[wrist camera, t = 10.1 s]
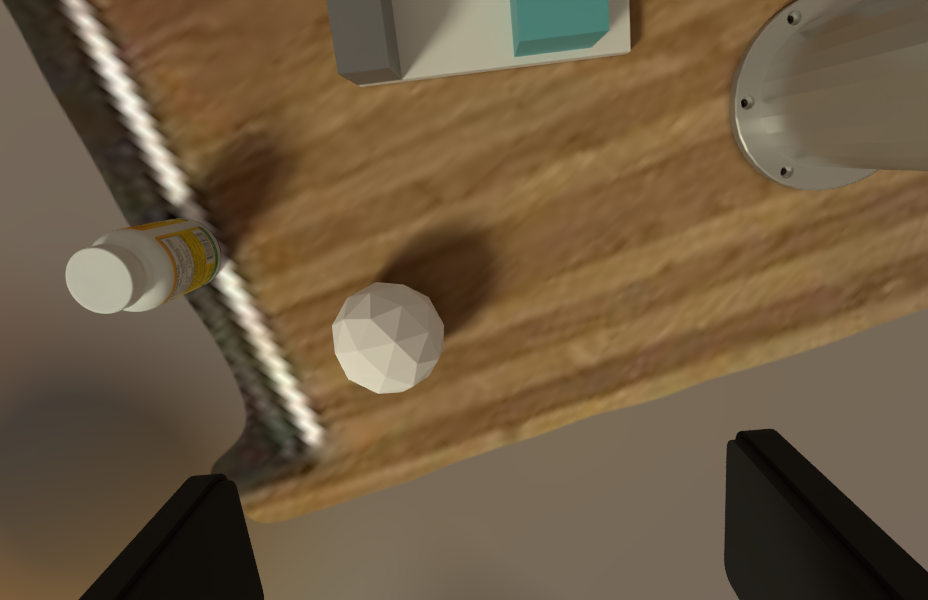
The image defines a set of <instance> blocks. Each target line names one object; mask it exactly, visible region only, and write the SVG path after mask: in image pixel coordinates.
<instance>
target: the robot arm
mask: <svg viewBox="0 0 928 600" xmlns="http://www.w3.org/2000/svg"><path fill="white" fill-rule="evenodd" d="M787 17H788V18H789V19H790V23H788V21H787ZM742 100H743V101H744V103H745V104H744V106H743V107H742V106H741V101H742ZM729 113H730V121H731V128H732V131H733V134H734V137H735V140H736V143H737V145H738V147H739V149H740V151H741V152H742V154H743V156H744V157H745V159H746V160H747V161H748V162H749V163H750V164H751V166H752V167H753V168H754V169H755V170H756V171H757V172H759V173H760V174H762V175H763V176H765V177H766V178H767V179H769V180H771V181H773V182H775V183H778V184H780V185H783V186H785V187H790V188H796V189H801V190H816V191H819V190H828V189H836V188H840V187H843V186H847V185H850V184H853V183H856V182H858V181H860V180H862V179H864V178H866V177H868V176H870V175H872V174H873V173H875V172H876V171H877V170H879V169H883V170H911V171H928V0H797V1H796V2H794V3H792V4H790V5H788V6H786V7H785V8H783V9H782V10H781V11H780V12H778V13H777V14H776V15H775V16H773V17H772V18H771V19H770V20H768V21H767V23H766V24H765V25H764V26H763V27H762V28H761V29H760V30H759V31H758V33H757V34H756V35H755V36H754V37H753V39H752V40H751V42H750V44H749V45H748V47H747V48H746V50H745V51H744V53H743V55H742V57H741V59H740V62H739V64H738V66H737V69H736V71H735V74H734V78H733V82H732V87H731V91H730V105H729ZM781 169H783V173H782V174H781V173H780V172H781ZM726 460H727V461H726V506H725V551H724V562H725V563H724V564H725V570H726V574H727V577H728V580H729V582H730V584H731V586H732V587H733V589H734V591H735V593H736V595H737V596H738V598H739V600H928V572H927V571H926V570H925V569H924V568H923V567H922V566H921V565H920V564H919V563H917V562H916V561H915V560H914V559H913V558H912V557H911V556H910V555H909V554H908V553H907V552H906V551H905V550H903V549H902V548H901V547H900V546H899V545H898V544H897V543H896V542H895V541H894V540H892V538H891V537H889V536H888V535H887V534H886V533H885V532H884V531H883V530H882V529H881V528H880V527H879V526H878V525H877V524H875V522H873V521H872V520H871V519H870V518H869V517H868V516H867V515H866V514H865V513H864V512H863V511H862V510H860V509H859V508H858V507H857V506H856V505H855V504H854V503H853V502H852V501H851V500H850V499H849V498H848V497H847V496H845V495H844V494H843V493H842V492H841V491H840V490H839V489H838V488H837V487H836V486H835V485H833V483H832V482H831V481H829V480H828V479H827V478H826V477H825V476H824V475H823V474H822V473H821V472H820V471H819V470H818V469H817V468H816V467H814V466H813V465H812V464H811V463H810V462H809V461H808V460H807V459H806V458H805V457H804V456H803V455H802V454H800V453H799V452H798V451H797V450H796V449H795V448H794V447H793V446H792V445H791V444H790V443H788V441H787V440H785V439H784V438H783V437H782V436H781V435H780V434H779V433H778V432H777V431H775V430H774V429H762V430H749V431H740V432H738V433H737V435H736V439H735V440H730V441H728V444H727V458H726ZM79 600H264V594H263V589H262V585H261V581H260V577H259V573H258V569H257V565H256V561H255V558H254V553H253V549H252V546H251V542H250V538H249V534H248V530H247V526H246V523H245V518H244V514H243V510H242V506H241V502H240V498H239V494H238V490H237V487H236V484H235V483H234V482H233V481H231V480H230V481H228V479H227V478H226V476H225V475H223V474H210V475H198V476H191V477H190V478H188V479H187V480H186V481H185V482H184V483H183V485H182V486H181V487H180V488H179V489H178V490H177V491H176V493H174V495H173V496H172V497H171V498H170V499H169V500H168V501H167V502H166V503H165V505H164V506H163V507H162V508H161V509H160V510H159V511H158V512H157V513H156V515H155V516H154V517H153V518H152V519H151V520H150V521H149V522H148V523H147V524H146V526H145V527H144V528H143V529H142V530H141V531H140V532H139V533H138V534H137V536H136V537H135V538H134V539H133V540H132V541H131V542H130V543H129V545H128V546H127V547H126V548H125V549H124V550H123V551H122V552H121V553H120V555H119V556H118V557H117V558H116V559H115V560H114V561H113V562H112V563H111V564H110V565H109V567H108V568H107V569H106V570H105V571H104V572H103V573H102V574H101V576H100V577H99V578H98V579H97V580H96V581H95V582H94V583H93V584H92V585H91V587H90V588H89V589H88V590H87V591H86V592H85V593H84V594H83V595H82V596H81V598H80V599H79Z"/></svg>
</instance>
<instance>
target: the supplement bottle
mask: <svg viewBox="0 0 928 600" xmlns="http://www.w3.org/2000/svg"><path fill="white" fill-rule="evenodd" d="M220 263H221V253H220V248H219V245H218V242H217V240H216V239H215V237H214V236H213V234H212V233H211V232H210V231H209V230H208V229H207V228H206V227H205V226H203V225H202V224H200V223H198V222H196V221H193V220H190V219H185V218H177V219H170V220H165V221H160V222H155V223H149V224H144V225H138V226H133V227H127V228H122V229H118V230H114V231H111V232H108V233H106V234H104V235H103V236H101V237H100V238H99V239H98V240H96V242H95V243H94V244H93V245H92V247H88V248H84V249H82V250H80V251H78V252H76V253H75V254H74V255H73V256H72V257H71V259H70V260H69V262H68V264H67V267H66V282H67V286H68V289H69V291H70V292H71V294H72V296H73V297H74V298H75V300H76V301H77V302H78V303H80V304H81V305H82V306H83V307H85V308H87V309H89V310H91V311H93V312H97V313H103V314H108V313H115V312H118V311H121V310H125V311H132V312H140V311H146V310H150V309H153V308H155V307H157V306H160V305H162V304H164V303H166V302H168V301H170V300H173V299H175V298H177V297H179V296H181V295H184V294H186V293H188V292H190V291H192V290H194V289H197V288H199V287H201V286H203V285H205V284H207V283H208V282H210V281H211V280H212V279H213V278H214V277H215V275H216V274H217V272H218V270H219V267H220Z"/></svg>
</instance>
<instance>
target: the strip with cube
mask: <svg viewBox="0 0 928 600" xmlns="http://www.w3.org/2000/svg"><path fill="white" fill-rule="evenodd" d="M326 1H327V7H328V13H329V20H330V26H331V32H332V38H333V45H334V51H335V57H336V63H337V70H338V74H339V75H341V76H342V77H344V78H346V79H348V80H349V81H351V82H353V83H355V84H356V85H358V86H360V87H365V86H373V85H381V84H389V83H397V82H405V81H413V80H421V79H429V78H437V77H446V76H454V75H462V74H470V73H478V72H486V71H494V70H502V69H510V68H518V67H526V66H534V65H542V64H550V63H559V62H567V61H575V60H583V59H591V58H599V57H607V56H615V55H623V54H627V53H629V52H630V51H631V48H630V11H629V0H608V3H609V31H608V32H607V33H606V34H605V35H604V36H603V37H602V38H601V39H600V40H599V41H598V42H597V43H596V44H595V45H594V46H593V47H592V48H585V49H577V50H569V51H561V52H553V53H545V54H537V55H529V56H521V57H514V48H513V36H512V23H511V11H510V0H326Z"/></svg>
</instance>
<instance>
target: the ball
mask: <svg viewBox="0 0 928 600" xmlns="http://www.w3.org/2000/svg"><path fill="white" fill-rule="evenodd" d="M332 329H333V338H334V348H335V354H336V356H337V358H338V360H339V362H340V364H341V366H342V368H343V370H344V372H345V374H346V375H347V377H348V379H349V380H351V381H353V382H355V383H357V384H359V385H361V386H364V387H366V388H368V389H370V390H372V391H374V392H376V393H378V394H380V393H394V392H403V391H405V390H407V389H409V388H411V387H413V386H414V385H416V384H417V383H419V382H420V381H422V380H423V379H425V378H427V377H428V376H429V375H430V373H431V372H432V370H433V368H434V366H435V365H436V363H437V361H438V360H439V357H440V355H441V353H442V351H443V348H444V324H443V322H442V320H441V319H440V317H439V315H438V313H437V311H436V310H435V308H434V306H433V304H432V302H431V301H430V299H429V297H428V296H425V295H423V294H421V293H419V292H417V291H415V290H413V289H411V288H409V287H407V286H405V285H403V284H391V283H379V282H375V283H373V284H371V285H370V286H368V287H366V288H364V289H362V290H361V291H359V292H357V293H355V294H353V295H352V296H350V297H348V298H347V300H346V302H345V303H344V305H343V307H342V309H341V311H340V312H339V314H338V316H337V318H336V319H335V321H334V323H333V325H332Z"/></svg>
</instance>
